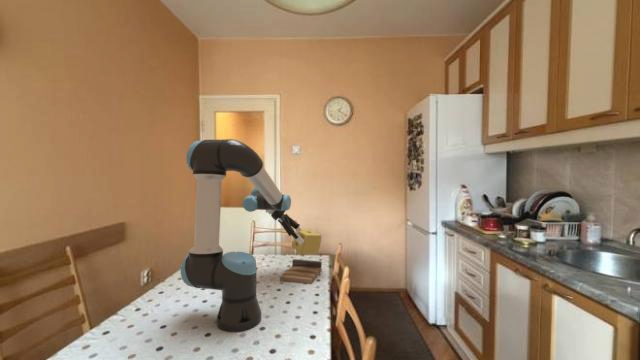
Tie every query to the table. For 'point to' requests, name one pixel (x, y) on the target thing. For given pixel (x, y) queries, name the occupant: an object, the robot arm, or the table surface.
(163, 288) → the table surface
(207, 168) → the robot arm
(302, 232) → the cheese
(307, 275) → the walnut board
